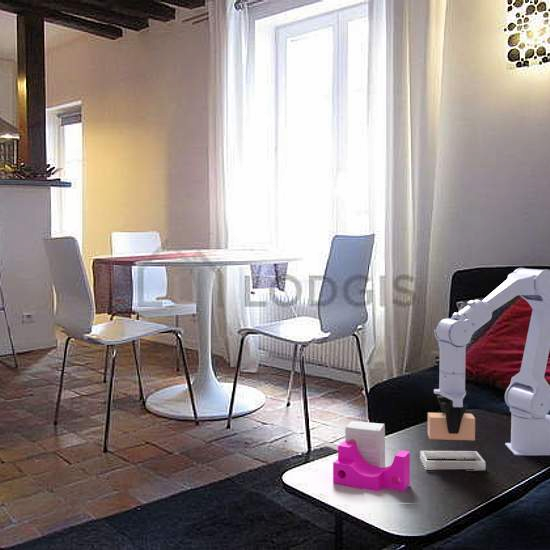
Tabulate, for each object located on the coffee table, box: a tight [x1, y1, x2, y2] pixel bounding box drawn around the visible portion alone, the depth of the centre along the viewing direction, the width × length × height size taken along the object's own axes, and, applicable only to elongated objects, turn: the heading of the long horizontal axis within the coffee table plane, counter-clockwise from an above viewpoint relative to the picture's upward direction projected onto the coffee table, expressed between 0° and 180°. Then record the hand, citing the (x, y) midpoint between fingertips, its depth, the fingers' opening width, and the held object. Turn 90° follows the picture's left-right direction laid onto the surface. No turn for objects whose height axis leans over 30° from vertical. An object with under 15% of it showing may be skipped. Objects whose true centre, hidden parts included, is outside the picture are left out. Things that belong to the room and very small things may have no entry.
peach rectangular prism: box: [427, 412, 476, 441], centre depth 148 cm, size 4×10×5 cm, turn 84°
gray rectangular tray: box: [419, 450, 486, 471], centre depth 147 cm, size 13×7×2 cm, turn 88°
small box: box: [344, 420, 386, 467], centre depth 145 cm, size 8×6×10 cm
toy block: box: [332, 440, 411, 492], centre depth 138 cm, size 15×6×8 cm, turn 60°
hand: (451, 430), depth 148 cm, fingers closed on peach rectangular prism, 4 cm apart
